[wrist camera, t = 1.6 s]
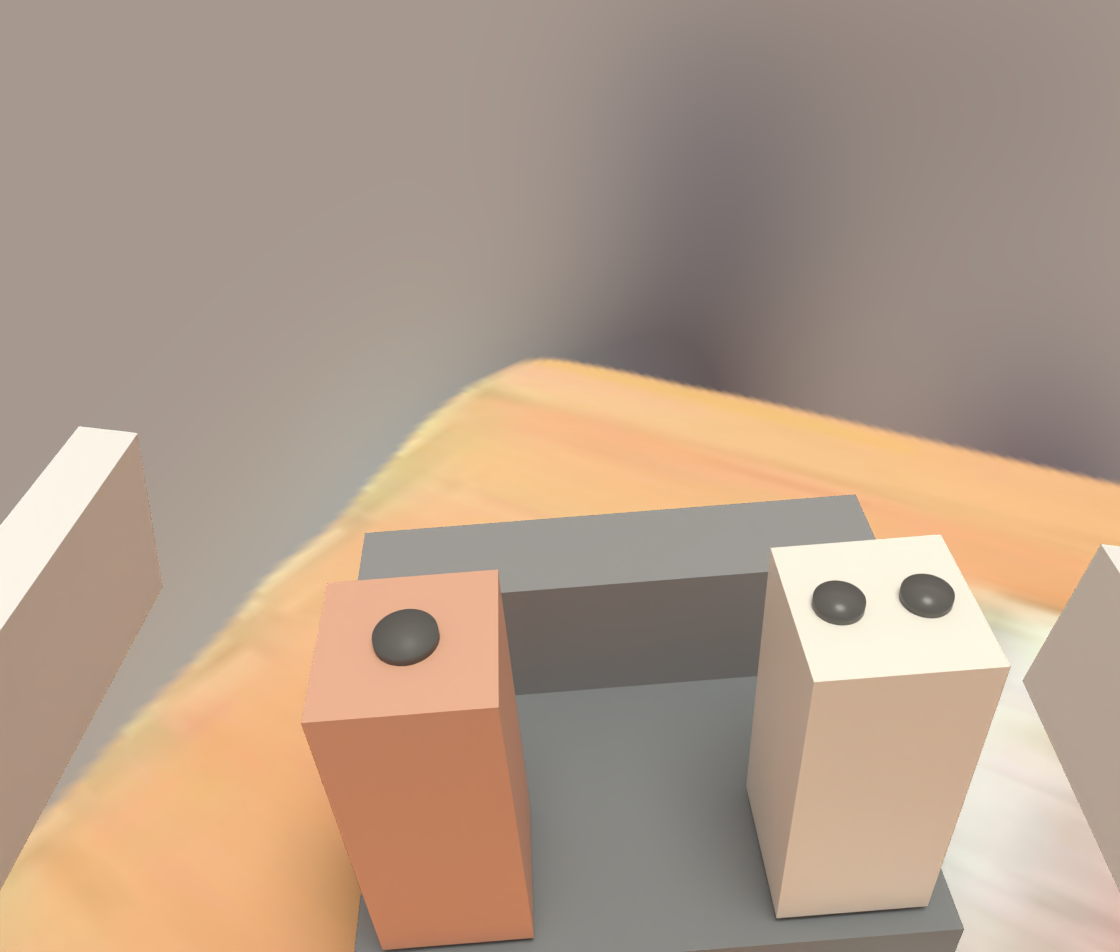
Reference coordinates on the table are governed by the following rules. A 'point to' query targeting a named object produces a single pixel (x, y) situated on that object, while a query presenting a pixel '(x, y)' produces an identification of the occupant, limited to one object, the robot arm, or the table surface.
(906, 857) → the white block with dots
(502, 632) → the button terracotta
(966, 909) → the table surface
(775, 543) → the grey l-shaped bracket
